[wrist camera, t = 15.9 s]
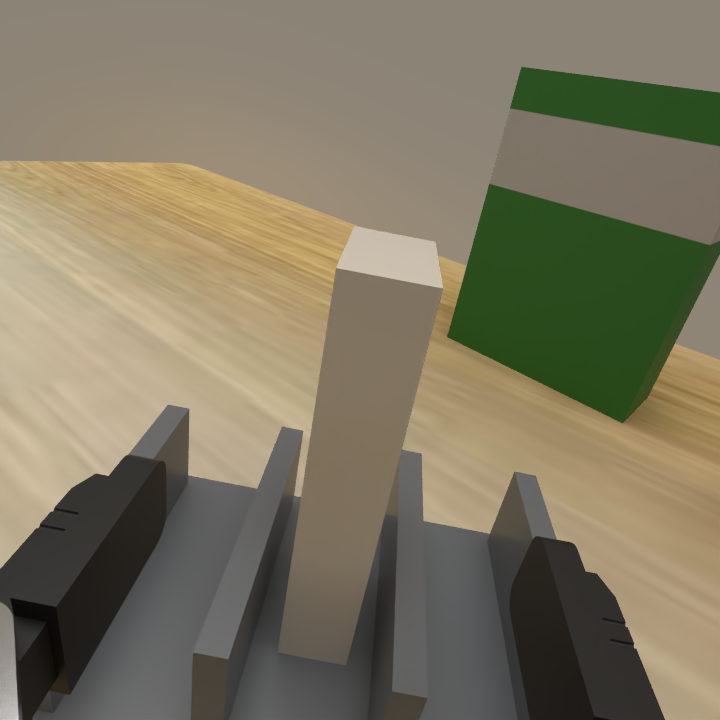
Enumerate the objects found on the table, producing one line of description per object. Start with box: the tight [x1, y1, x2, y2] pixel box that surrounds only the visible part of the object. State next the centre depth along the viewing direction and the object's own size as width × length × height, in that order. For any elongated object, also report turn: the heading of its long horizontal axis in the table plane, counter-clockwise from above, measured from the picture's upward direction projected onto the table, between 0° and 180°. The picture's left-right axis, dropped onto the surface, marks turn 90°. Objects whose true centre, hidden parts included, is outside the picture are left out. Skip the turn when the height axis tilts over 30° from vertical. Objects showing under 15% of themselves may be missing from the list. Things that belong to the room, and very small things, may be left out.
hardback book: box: [448, 67, 720, 423], centre depth 44 cm, size 18×7×24 cm, turn 47°
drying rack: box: [34, 405, 557, 720], centre depth 20 cm, size 12×17×6 cm
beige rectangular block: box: [277, 226, 443, 666], centre depth 18 cm, size 4×3×15 cm, turn 175°
